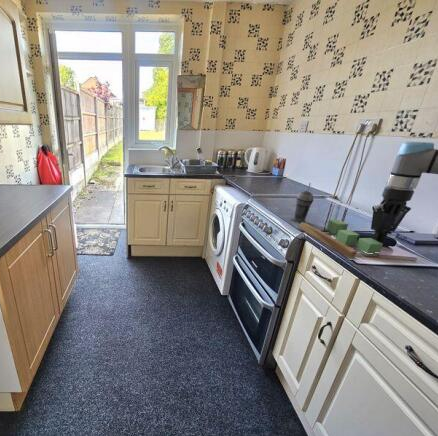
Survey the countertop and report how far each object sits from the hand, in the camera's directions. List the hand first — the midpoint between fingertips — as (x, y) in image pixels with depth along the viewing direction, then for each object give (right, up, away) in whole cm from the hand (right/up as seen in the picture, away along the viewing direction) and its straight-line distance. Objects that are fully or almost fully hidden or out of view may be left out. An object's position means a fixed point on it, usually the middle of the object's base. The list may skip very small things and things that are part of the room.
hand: (375, 247), depth 94 cm
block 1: (-1, +5, +18) cm, 19 cm away
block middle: (-6, +1, +8) cm, 10 cm away
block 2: (-3, -2, 0) cm, 4 cm away
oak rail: (-14, +2, +9) cm, 16 cm away
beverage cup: (-11, +10, +31) cm, 34 cm away
